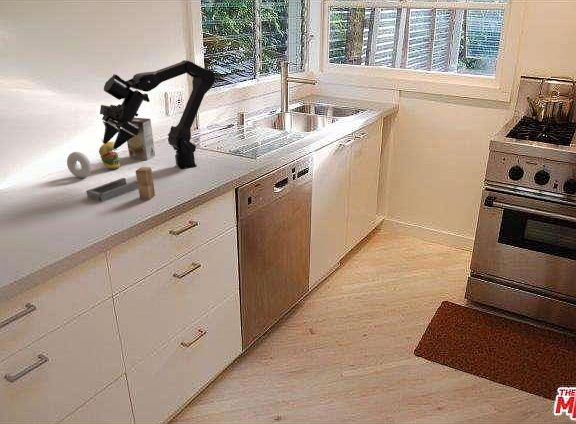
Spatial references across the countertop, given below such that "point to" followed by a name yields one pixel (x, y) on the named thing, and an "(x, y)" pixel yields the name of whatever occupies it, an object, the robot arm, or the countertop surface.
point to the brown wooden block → (145, 183)
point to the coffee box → (142, 140)
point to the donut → (82, 160)
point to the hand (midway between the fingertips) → (109, 145)
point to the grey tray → (111, 190)
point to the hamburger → (109, 155)
